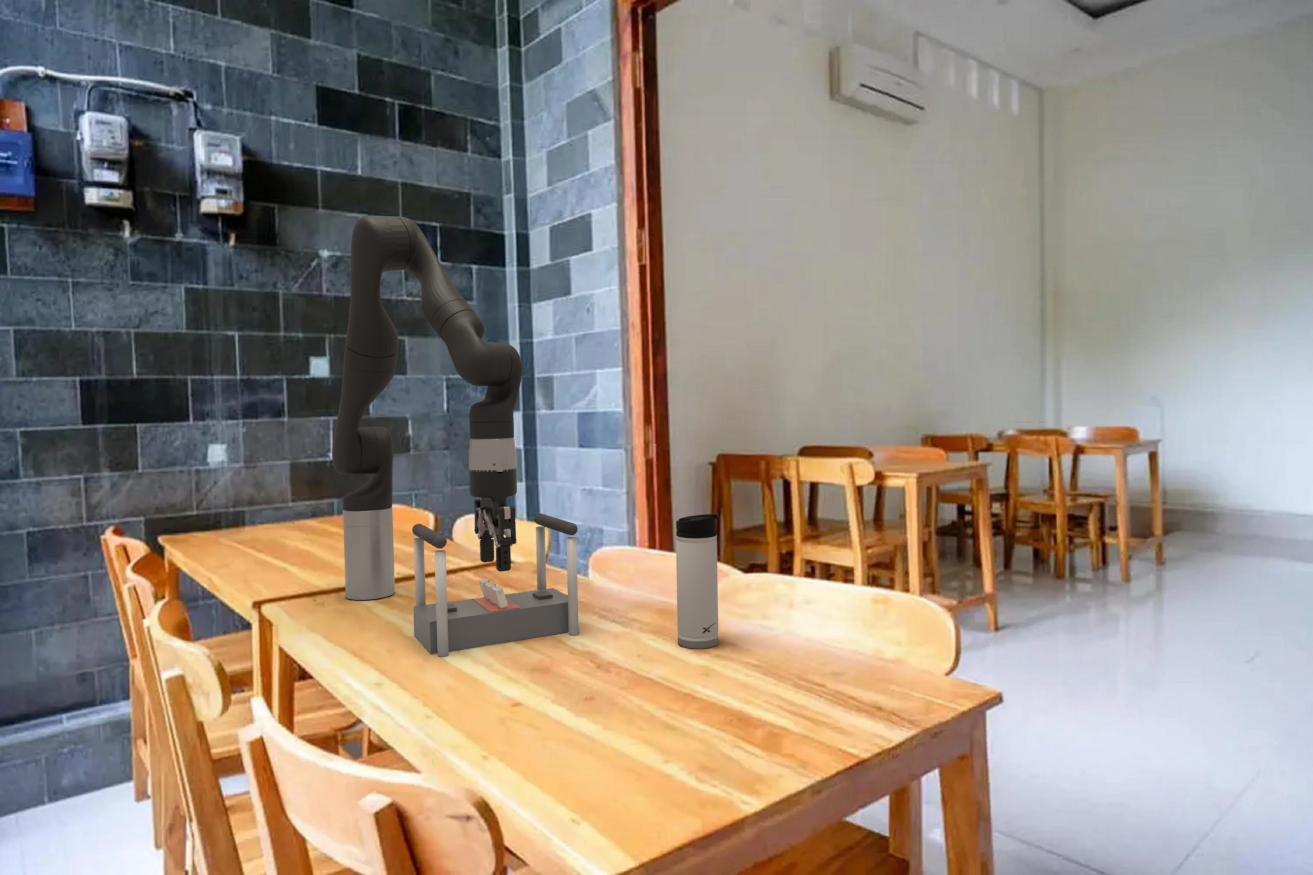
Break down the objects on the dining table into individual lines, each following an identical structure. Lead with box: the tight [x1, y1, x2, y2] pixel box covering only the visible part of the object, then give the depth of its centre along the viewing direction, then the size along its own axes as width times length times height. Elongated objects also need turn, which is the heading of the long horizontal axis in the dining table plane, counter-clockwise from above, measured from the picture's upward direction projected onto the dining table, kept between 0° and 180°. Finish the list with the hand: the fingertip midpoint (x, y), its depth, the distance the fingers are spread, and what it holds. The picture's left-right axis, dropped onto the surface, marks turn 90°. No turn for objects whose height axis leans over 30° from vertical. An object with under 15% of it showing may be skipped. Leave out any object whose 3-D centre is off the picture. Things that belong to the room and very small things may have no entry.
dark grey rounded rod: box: [411, 523, 448, 550], centre depth 127 cm, size 16×2×2 cm, turn 29°
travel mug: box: [675, 512, 720, 650], centre depth 125 cm, size 6×7×20 cm
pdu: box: [412, 525, 580, 658], centre depth 132 cm, size 16×24×16 cm, turn 119°
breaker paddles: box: [478, 577, 508, 608], centre depth 132 cm, size 9×1×3 cm, turn 29°
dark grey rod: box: [534, 513, 578, 536], centre depth 137 cm, size 16×2×2 cm, turn 29°
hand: (495, 566), depth 132 cm, fingers open, 8 cm apart
